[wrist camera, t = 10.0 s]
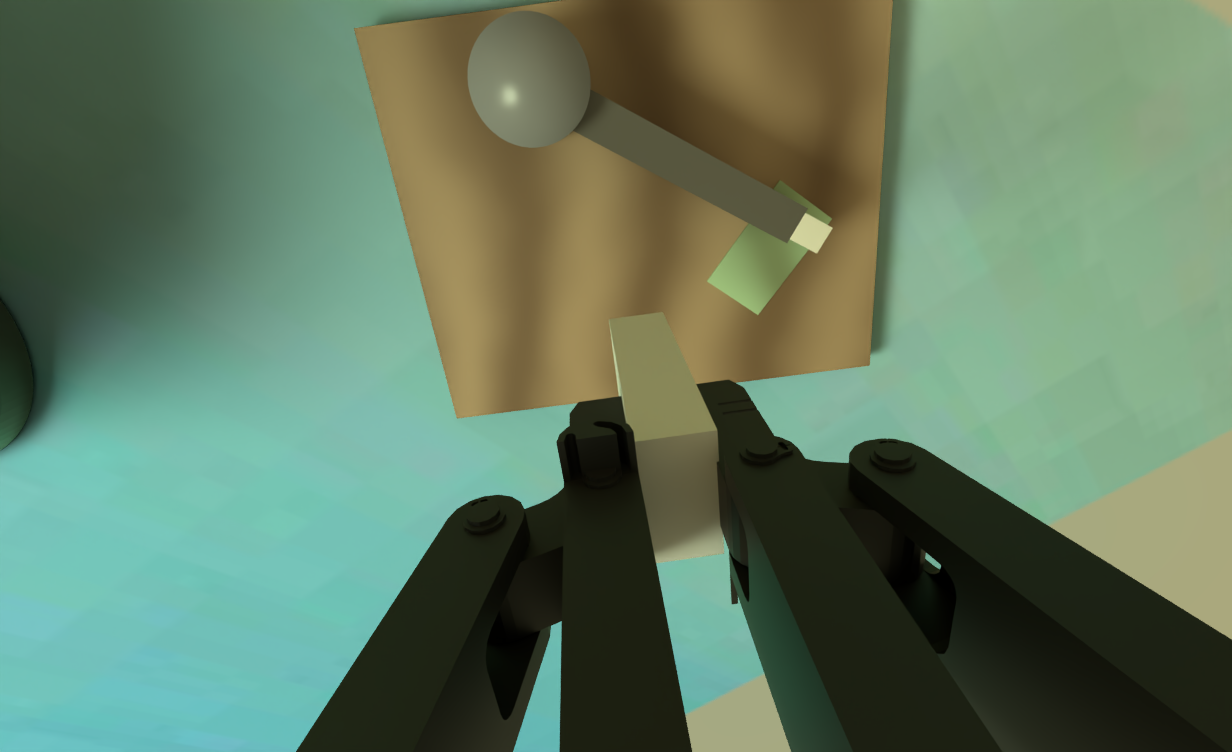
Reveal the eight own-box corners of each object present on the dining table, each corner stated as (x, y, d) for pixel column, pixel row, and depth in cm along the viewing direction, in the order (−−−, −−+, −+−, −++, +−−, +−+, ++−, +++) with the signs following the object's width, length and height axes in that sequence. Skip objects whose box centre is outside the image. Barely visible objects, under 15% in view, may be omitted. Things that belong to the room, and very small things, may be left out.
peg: (470, 113, 25) (450, 112, 21) (509, 6, 23) (494, -16, 20) (775, 270, 28) (803, 292, 24) (826, 184, 27) (864, 194, 23)
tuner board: (461, 408, 32) (456, 419, 31) (364, 32, 25) (353, 28, 23) (859, 356, 32) (870, 366, 30) (881, -37, 24) (896, -45, 23)
